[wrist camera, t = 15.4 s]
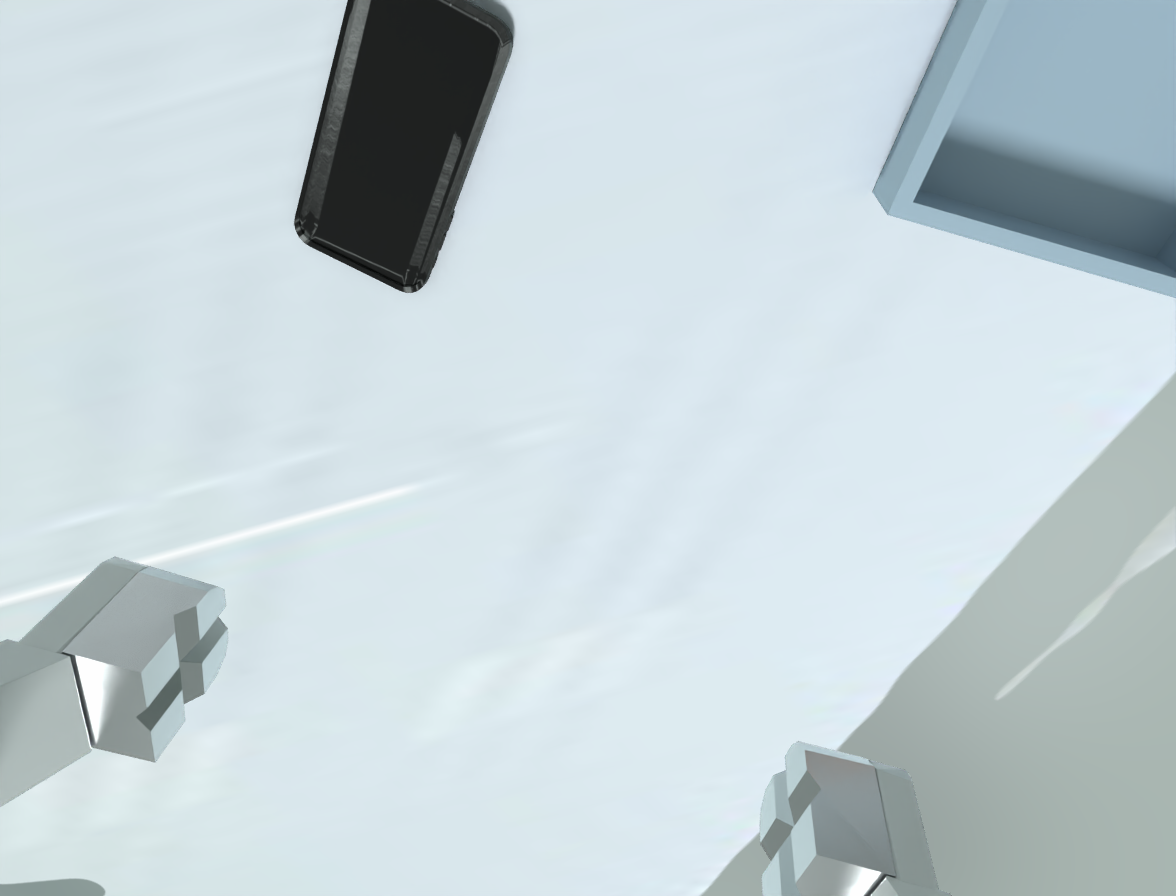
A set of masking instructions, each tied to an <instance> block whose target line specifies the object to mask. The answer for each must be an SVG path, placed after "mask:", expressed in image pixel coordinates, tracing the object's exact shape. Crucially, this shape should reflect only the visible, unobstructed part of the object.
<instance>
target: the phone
mask: <svg viewBox="0 0 1176 896" xmlns="http://www.w3.org/2000/svg"><path fill="white" fill-rule="evenodd" d="M512 48H513V41H512V36H511V33H510V30H509V28H508V27H507V25H506V24H505V23H504V22H503V21H502V20H501V19H499V18H498V17H496V16H494V15H493V14H491V13H489V12H487V11H485V10H484V9H482V8H480V7H478V6H476V5H474V4H473V3H471V2H469V1H467V0H348V2H347V6H346V10H345V14H344V18H343V22H342V26H341V30H340V35H339V39H338V43H337V47H336V51H335V55H334V59H333V63H332V67H331V71H330V76H329V80H328V84H327V88H326V92H325V96H324V100H323V104H322V108H321V112H320V117H319V121H318V125H317V129H316V133H315V137H314V141H313V145H312V149H311V153H310V157H309V162H308V166H307V170H306V174H305V178H304V182H303V186H302V190H301V194H300V198H299V203H298V207H297V211H296V215H295V221H294V225H295V230H296V232H297V234H298V236H299V238H300V239H301V240H302V241H303V242H304V243H305V244H307V245H308V246H310V247H312V248H314V249H316V250H318V251H320V252H322V253H324V254H326V255H328V256H330V257H332V258H334V259H336V260H338V261H340V262H342V263H345V264H347V265H349V266H351V267H353V268H355V269H357V270H359V271H361V272H363V273H365V274H367V275H369V276H371V277H373V278H375V279H377V280H379V281H381V282H383V283H385V284H387V285H389V286H391V287H393V288H395V289H397V290H399V291H402V292H405V293H413V292H416V291H418V290H419V289H421V288H422V287H423V286H424V285H425V284H426V282H427V281H428V279H429V277H430V274H431V271H432V269H433V268H434V266H435V263H436V260H437V255H438V252H439V250H441V248H442V245H443V242H444V240H445V237H446V234H445V233H446V231H448V230H449V227H450V224H451V222H452V219H453V216H452V214H453V211H454V209H455V206H456V203H457V201H458V198H459V195H460V192H461V190H462V187H463V184H464V181H465V179H466V176H467V173H468V171H469V168H470V165H471V162H472V160H473V157H474V154H475V152H476V149H477V146H478V143H479V141H480V138H481V135H482V132H483V130H484V127H485V124H486V122H487V119H488V116H489V113H490V111H491V108H492V105H493V103H494V100H495V97H496V94H497V92H498V89H499V86H500V83H501V81H502V78H503V75H504V73H505V70H506V67H507V64H508V62H509V59H510V56H511V53H512Z"/></svg>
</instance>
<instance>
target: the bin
mask: <svg viewBox="0 0 1176 896" xmlns="http://www.w3.org/2000/svg"><path fill="white" fill-rule="evenodd" d="M873 194H874V195H875V197H876V198H877V200H878V201H879V203H880V204H881V206H882V207H883V209H884V210H885V212H886V213H887V215H890V216H894V217H897V218H901V219H904V220H908V221H911V222H914V223H918V224H921V225H925V226H928V227H932V228H935V229H939V230H942V231H946V232H949V233H953V234H956V235H959V236H963V237H966V238H970V239H973V240H977V241H980V242H984V243H987V244H991V245H994V246H998V247H1001V248H1004V249H1008V250H1011V251H1015V252H1018V253H1022V254H1025V255H1029V256H1032V257H1036V258H1039V259H1043V260H1046V261H1049V262H1053V263H1056V264H1060V265H1063V266H1067V267H1070V268H1074V269H1077V270H1081V271H1084V272H1088V273H1091V274H1094V275H1098V276H1101V277H1105V278H1108V279H1112V280H1115V281H1119V282H1122V283H1126V284H1129V285H1133V286H1136V287H1139V288H1143V289H1146V290H1150V291H1153V292H1157V293H1160V294H1164V295H1167V296H1171V297H1174V298H1176V0H958V1H957V3H956V6H955V8H954V10H953V12H952V15H951V17H950V19H949V21H948V24H947V26H946V28H945V30H944V33H943V35H942V37H941V39H940V42H939V44H938V46H937V48H936V51H935V53H934V55H933V57H932V60H931V62H930V64H929V66H928V69H927V71H926V73H925V75H924V78H923V80H922V82H921V84H920V87H919V89H918V91H917V93H916V95H915V98H914V100H913V102H912V104H911V107H910V109H909V111H908V113H907V116H906V118H905V120H904V122H903V125H902V127H901V129H900V131H899V134H898V136H897V138H896V140H895V143H894V145H893V147H892V149H891V152H890V154H889V156H888V158H887V161H886V163H885V165H884V167H883V170H882V172H881V174H880V176H879V178H878V181H877V183H876V185H875V187H874V190H873Z"/></svg>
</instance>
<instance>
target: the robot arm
mask: <svg viewBox="0 0 1176 896" xmlns="http://www.w3.org/2000/svg"><path fill="white" fill-rule="evenodd" d="M225 607H226V599H225V591H224V589H223V588H220V587H218V586H214V585H211V584H208V583H204V582H201V581H198V580H194V579H191V578H188V577H184V576H181V575H177V574H174V573H171V572H167V571H164V570H161V569H157V568H154V567H151V566H146V565H143V564H139V563H136V562H132V561H129V560H125V559H122V558H118V557H113V558H111V559H109V560H106V561H104V562H102V563H101V564H100V565H98V566H97V567H96V568H95V569H94V570H93V571H92V572H91V573H90V574H89V575H88V576H87V577H86V578H85V579H84V580H83V581H82V582H81V583H80V584H79V585H77V586H76V587H75V588H74V589H73V590H72V591H71V592H70V593H69V594H68V595H67V596H66V597H65V598H64V599H63V600H62V601H61V602H60V603H59V604H58V605H56V606H55V607H54V608H53V609H52V610H51V611H50V612H49V613H48V614H47V615H46V616H45V617H44V618H43V619H42V620H41V621H40V622H39V623H38V624H37V625H35V626H34V627H33V628H32V629H31V630H30V631H29V632H28V633H27V634H26V635H25V636H24V637H23V638H22V639H21V640H20V641H19V642H17V641H13V640H9V639H6V640H4V641H1V642H0V807H1V806H3V805H5V804H6V803H8V802H10V801H11V800H13V799H15V798H16V797H18V796H19V795H21V794H23V793H24V792H26V791H28V790H29V789H31V788H32V787H34V786H36V785H37V784H39V783H41V782H42V781H44V780H46V779H47V778H49V777H50V776H52V775H54V774H55V773H57V772H59V771H60V770H62V769H64V768H65V767H67V766H68V765H70V764H72V763H73V762H75V761H77V760H78V759H80V758H82V757H83V756H85V755H86V754H88V753H90V752H91V751H92V749H91V747H93V748H97V749H101V750H105V751H109V752H113V753H118V754H122V755H126V756H130V757H134V758H138V759H143V760H147V761H151V762H156V761H157V759H158V758H159V757H160V755H161V754H162V752H163V751H164V750H165V748H166V747H167V745H168V744H169V743H170V741H171V740H172V739H173V737H174V736H175V734H176V733H177V732H178V730H179V729H180V727H181V726H182V725H183V723H184V722H185V712H184V704H185V703H187V702H189V701H191V700H193V699H195V698H197V697H199V696H201V695H203V694H205V692H206V691H207V689H208V688H209V686H210V685H211V683H212V682H213V681H214V679H215V678H216V676H217V674H218V671H219V669H220V667H221V665H222V662H223V660H224V658H225V655H226V649H227V644H228V628H227V627H226V626H225V624H224V623H223V622H222V621H221V619H220V618H219V617H218V616H219V615H220V614H221V612H222V611H223V610H224V608H225ZM785 764H786V770H785V771H783V772H780V773H778V774H775V775H773V777H772V779H771V781H770V783H769V785H768V787H767V788H766V791H765V795H764V799H763V802H762V806H761V813H760V844H761V845H762V847H763V849H764V851H765V852H766V854H767V855H768V857H769V859H770V860H771V862H770V864H769V866H768V867H767V869H766V870H765V872H764V873H763V875H762V891H763V896H952V895H951V894H950V893H947V892H944V891H941V890H939V888H938V883H937V880H936V875H935V871H934V867H933V864H932V859H931V855H930V851H929V847H928V843H927V839H926V835H925V831H924V827H923V823H922V819H921V815H920V810H919V807H918V803H917V798H916V794H915V790H914V786H913V782H912V778H911V776H910V775H909V774H908V772H907V771H906V770H905V769H901V768H897V767H894V766H890V765H886V764H882V763H879V762H875V761H871V760H867V759H865V758H862V757H858V756H855V755H851V754H847V753H843V752H839V751H835V750H831V749H827V748H823V747H819V746H815V745H811V744H808V743H804V742H800V741H798V742H796V743H795V744H793V745H792V746H791V747H790V749H789V750H788V752H787V754H786V755H785Z"/></svg>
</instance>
